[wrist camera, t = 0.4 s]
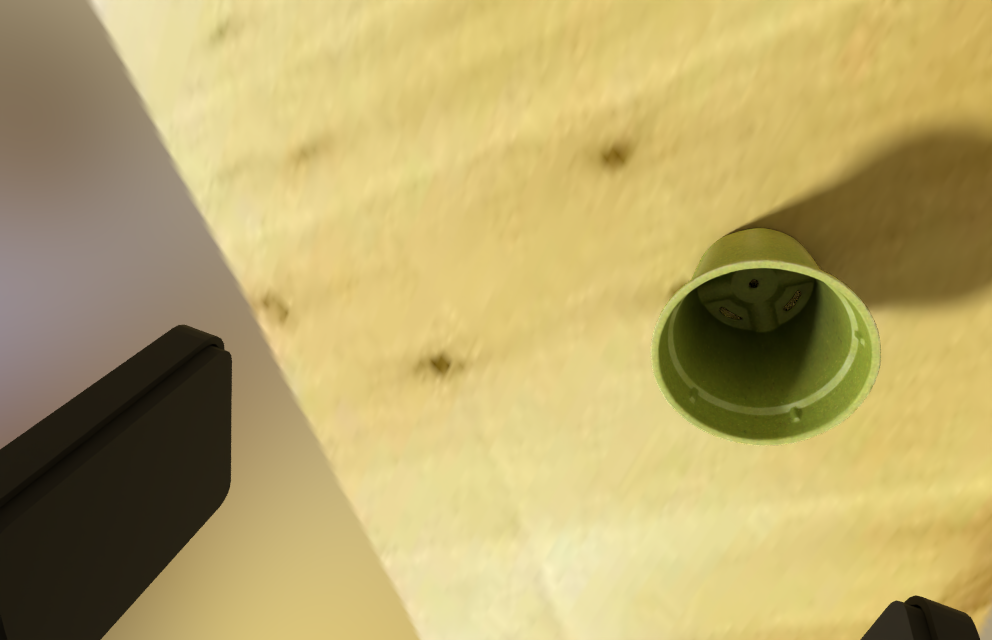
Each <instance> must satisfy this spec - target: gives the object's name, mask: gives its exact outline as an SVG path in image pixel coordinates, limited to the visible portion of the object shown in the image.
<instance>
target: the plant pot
mask: <svg viewBox="0 0 992 640" xmlns="http://www.w3.org/2000/svg"><path fill="white" fill-rule="evenodd" d="M753 279H755V280H757V281H758V282H759V285H758V286H757V287H756V288H751V287H750V286H749V282H750V281H751V280H753ZM798 290H799V291H800V292H801V296H800V297H799V298H798V300H797V301H796V304H795V306H794V307H792V308H791V309H790V310H788V311H785V310H784V308H783V307H784V306H785V305H786V304H787V303H788V302H789V301H790V300H791V299H792V297H793V296H794V295H795V292H796V291H798ZM720 307H724V308H726V309H727V310H729V311H730V312H732V313H734V314H735V315H738V317H742V319H739V320H736V319H732V318H729V317H727V316H725V315H724V314H722V313H721V312H720V310H719V309H720ZM880 362H881V344H880V337H879V332H878V329H877V326H876V323H875V321H874V319H873V317H872V315H871V313H870V311H869V310H868V308H867V307H866V305H865V304H864V303H863V301H862V300H861V299H860V298H859V297H858V296H857V295H856V293H855V292H854V291H853V290H851V289H850V288H849V287H848V286H847V285H846V284H844V283H843V282H842V281H840V280H839V279H837V278H836V277H834V276H832V275H830V274H828V273H826V272H824V271H822V270H820V268H819V267H818V265H817V264H816V262H815V261H814V260H813V258H812V257H811V256H810V254H809V253H808V252H807V250H806V249H805V248H804V247H803V246H802V245H801V244H800V243H799V242H798V241H796V240H795V239H794V238H792V237H790V236H789V235H787V234H785V233H782V232H779V231H776V230H772V229H766V228H753V229H748V230H743V231H739V232H736V233H733V234H729V235H726V236H724V237H722V238H721V239H719V240H718V241H716V242H715V243H714V244H713V245H712V246H711V247H710V248H709V249H708V250H707V251H706V252H705V254H704V255H703V257H702V258H701V260H700V262H699V264H698V267H697V269H696V271H695V273H694V275H693V277H692V280H690V281H689V282H687V283H686V284H685V285H684V286H683V287H681V288H680V289H679V290H678V291H677V292H676V293H675V294H674V295H673V296H672V298H671V299H670V300H669V301H668V303H667V304H666V306H665V307H664V309H663V310H662V312H661V314H660V316H659V318H658V320H657V323H656V326H655V329H654V332H653V336H652V342H651V364H652V369H653V373H654V376H655V379H656V382H657V384H658V386H659V389H660V391H661V392H662V394H663V396H664V397H665V399H666V400H667V402H668V403H669V404H670V405H671V406H672V408H673V409H674V410H675V411H676V412H677V413H678V414H679V415H681V416H682V417H683V418H684V419H685V420H687V421H688V422H689V423H691V424H692V425H694V426H695V427H697V428H698V429H700V430H702V431H704V432H707V433H709V434H711V435H713V436H716V437H719V438H721V439H724V440H727V441H731V442H736V443H743V444H750V445H758V446H775V445H784V444H792V443H797V442H800V441H803V440H806V439H809V438H812V437H814V436H817V435H819V434H822V433H824V432H826V431H828V430H830V429H832V428H834V427H836V426H837V425H839V424H840V423H842V422H843V421H845V420H846V419H847V418H848V417H849V416H850V415H851V414H853V413H854V411H855V410H856V409H857V408H858V407H859V406H860V405H861V404H862V403H863V402H864V400H865V399H866V397H867V396H868V394H869V393H870V391H871V389H872V387H873V385H874V383H875V381H876V378H877V375H878V372H879V368H880Z"/></svg>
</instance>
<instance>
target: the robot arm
mask: <svg viewBox="0 0 992 640" xmlns="http://www.w3.org/2000/svg"><path fill="white" fill-rule="evenodd" d="M231 359H232V358H231V354H230V353H229V352H228V351H225V350H224V343H223V341H222V339H221V338H219V337H217V336H214V335H211V334H209V333H206V332H203V331H200V330H198V329H195V328H192V327H190V326H187V325H178V326H176V327H174V328H172V329H171V330H170V331H168V332H167V333H165V334H164V335H163V336H161V337H160V338H158V339H157V340H155V341H154V342H153V343H151V344H150V345H148V346H147V347H145V348H144V349H143V350H141V351H140V352H138V353H137V354H136V355H134V356H133V357H131V358H130V359H128V360H127V361H126V362H124V363H123V364H121V365H120V366H119V367H117V368H116V369H114V370H113V371H111V372H110V373H108V374H107V375H106V376H104V377H103V378H101V379H100V380H99V381H97V382H96V383H94V384H93V385H91V386H90V387H89V388H87V389H86V390H84V391H83V392H81V393H80V394H79V395H77V396H76V397H74V398H73V399H71V400H70V401H69V402H68V403H66V404H65V405H63V406H62V407H60V408H59V409H57V410H56V411H54V412H53V413H52V414H50V415H49V416H47V417H46V418H45V419H43V420H42V421H40V422H39V423H37V424H36V425H34V426H33V427H32V428H30V429H29V430H27V431H26V432H25V433H23V434H22V435H20V436H19V437H17V438H16V439H15V440H13V441H12V442H10V443H9V444H8V445H6V446H5V447H3V448H2V449H0V640H100V639H102V637H103V636H104V635H105V634H106V633H107V632H108V631H109V629H110V628H111V627H112V626H113V625H114V624H115V623H116V622H117V620H119V618H120V617H121V616H122V615H123V614H124V613H125V612H126V611H127V610H128V608H129V607H130V606H131V605H132V604H133V603H134V602H135V601H136V599H137V598H138V597H139V596H140V595H141V594H142V593H143V592H144V591H145V589H146V588H147V587H148V586H149V585H150V584H151V583H152V582H153V580H154V579H155V578H156V577H157V576H158V575H159V574H160V573H161V572H162V570H163V569H164V568H165V567H166V566H167V565H168V564H169V563H170V562H171V560H172V559H173V558H174V557H175V556H176V555H177V553H179V551H180V550H181V549H182V548H183V547H184V546H185V545H186V544H187V543H188V542H189V540H190V539H191V538H192V537H193V536H194V535H195V534H196V533H197V531H198V530H199V529H200V528H201V527H202V526H203V525H204V524H205V522H206V521H207V520H208V519H209V518H210V517H211V516H212V515H213V514H214V513H215V511H216V510H217V509H218V508H219V507H220V506H221V504H222V503H223V501H224V500H225V498H226V496H227V494H228V491H229V488H230V482H231V392H232V360H231ZM861 640H980V638H979V635H978V632H977V629H976V626H975V624H974V622H973V620H972V619H971V617H969V616H968V615H967V614H966V613H964V612H961V611H959V610H956V609H953V608H950V607H948V606H945V605H942V604H940V603H937V602H934V601H931V600H929V599H926V598H923V597H920V596H913V597H910V598H909V599H908V600H906V601H905V602H904V603H903V602H900V601H894V602H892V603H891V604H890V605H889V606H888V607H887V608H886V609H885V610H884V612H883V613H882V614H881V615H880V617H879V618H878V619H877V620H876V621H875V623H874V624H873V625H872V626H871V628H870V629H869V630H868V631H867V632H866V634H865V635H864V636H863V637H862V639H861Z"/></svg>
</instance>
